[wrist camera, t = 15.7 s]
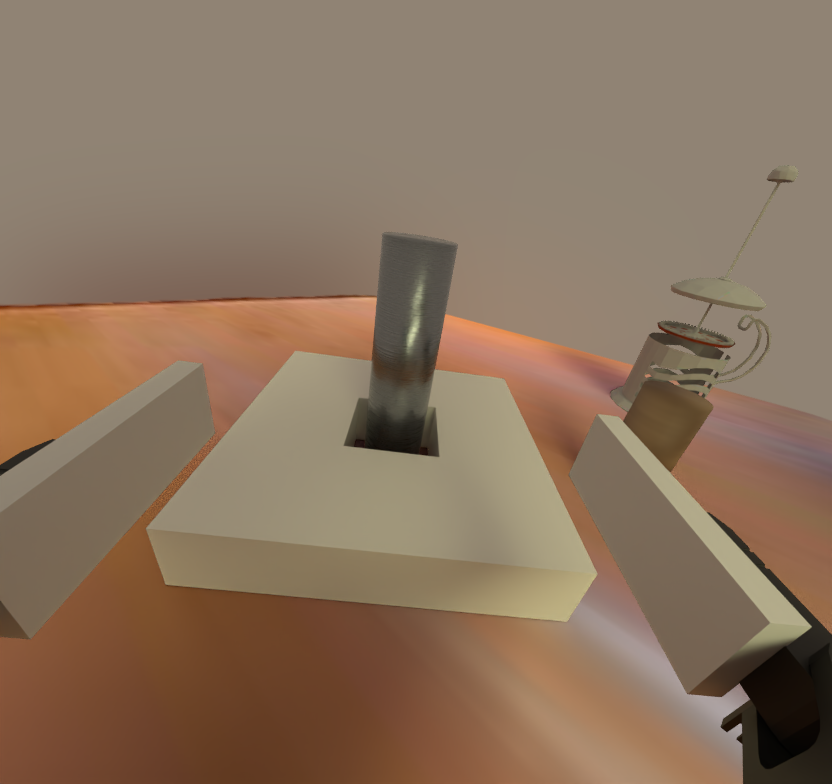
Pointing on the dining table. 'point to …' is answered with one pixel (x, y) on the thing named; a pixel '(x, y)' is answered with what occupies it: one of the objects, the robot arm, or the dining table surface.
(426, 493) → the hole plate
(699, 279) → the french press
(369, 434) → the metal pin
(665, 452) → the walnut pin
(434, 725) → the dining table surface
